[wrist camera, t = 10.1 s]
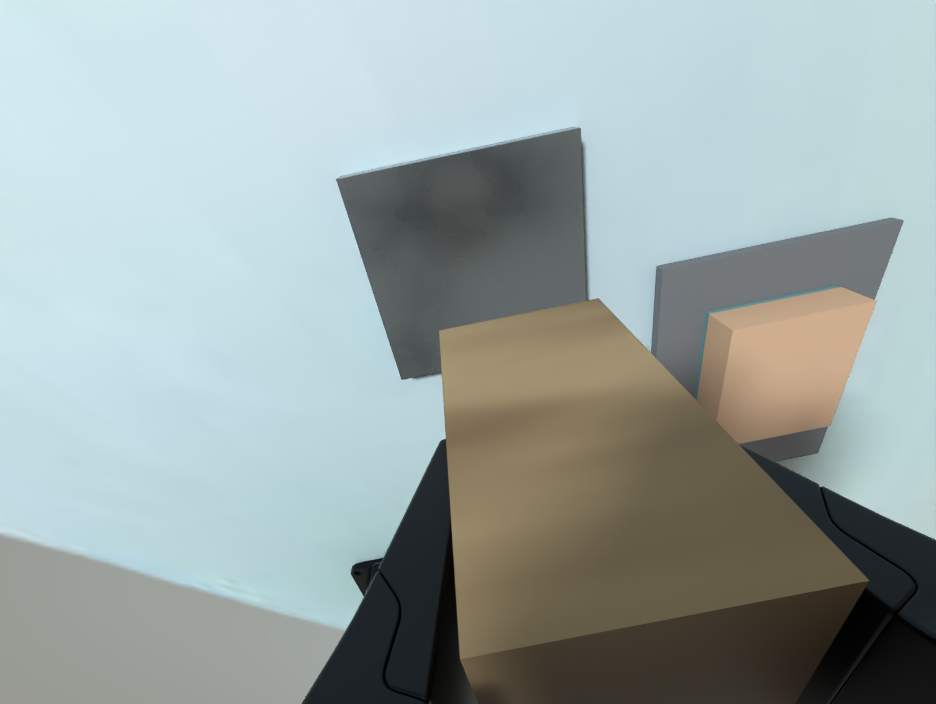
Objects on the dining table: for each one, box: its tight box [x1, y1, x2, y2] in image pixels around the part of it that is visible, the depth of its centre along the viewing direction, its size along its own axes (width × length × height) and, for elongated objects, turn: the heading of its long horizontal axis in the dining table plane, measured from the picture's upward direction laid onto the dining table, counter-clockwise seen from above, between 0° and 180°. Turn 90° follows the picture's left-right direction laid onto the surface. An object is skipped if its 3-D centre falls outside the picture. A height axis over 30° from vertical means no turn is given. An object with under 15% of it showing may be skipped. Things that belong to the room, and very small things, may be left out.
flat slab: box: [695, 286, 877, 444], centre depth 22 cm, size 2×7×8 cm
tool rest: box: [336, 127, 586, 380], centre depth 19 cm, size 10×10×1 cm
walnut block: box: [439, 298, 869, 704], centre depth 8 cm, size 4×4×7 cm
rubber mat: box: [651, 218, 904, 462], centre depth 24 cm, size 16×12×1 cm
